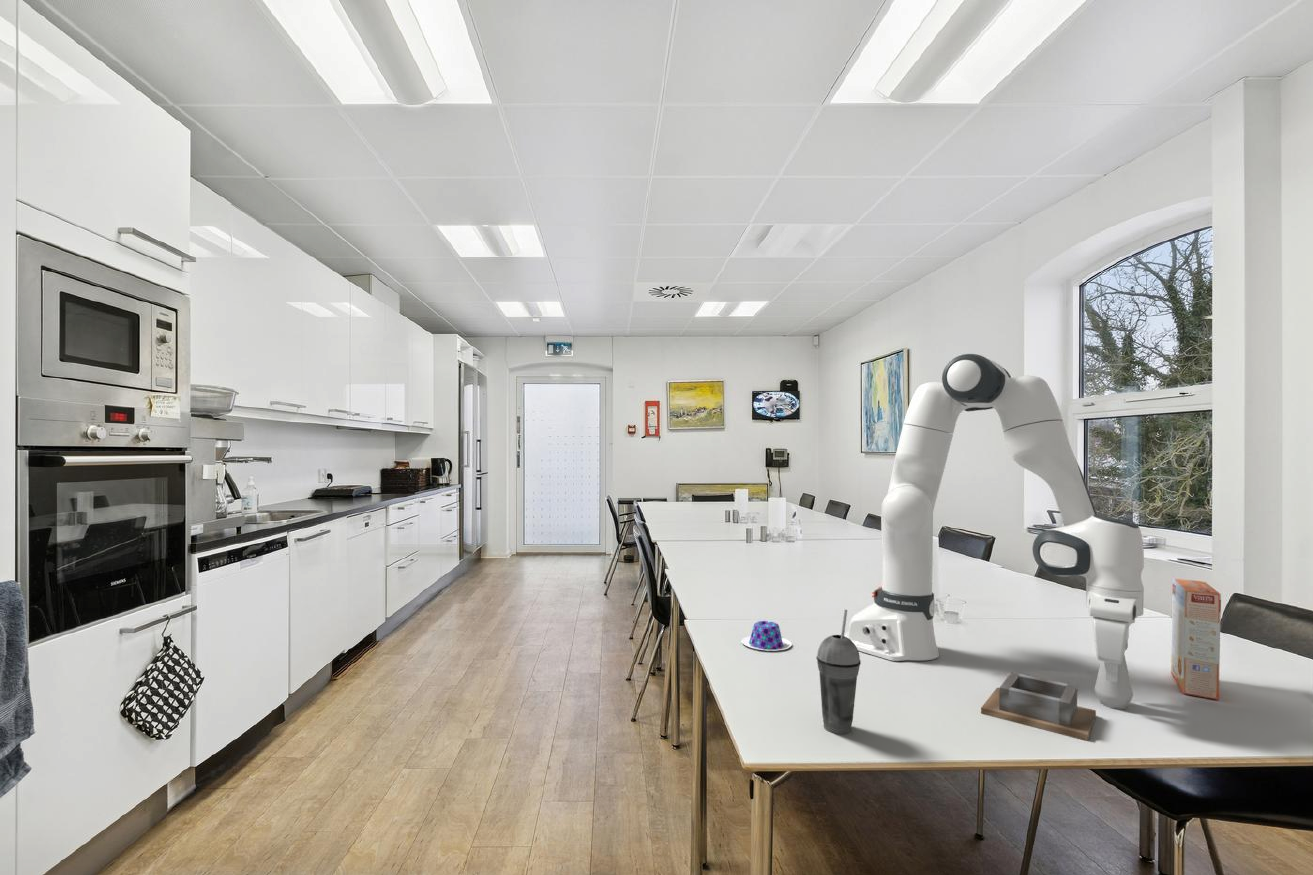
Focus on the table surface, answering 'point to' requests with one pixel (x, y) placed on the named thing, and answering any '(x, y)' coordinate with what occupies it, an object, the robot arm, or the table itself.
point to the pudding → (766, 637)
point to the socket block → (1040, 705)
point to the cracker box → (1196, 638)
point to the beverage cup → (838, 680)
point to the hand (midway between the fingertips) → (1113, 674)
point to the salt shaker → (1114, 686)
